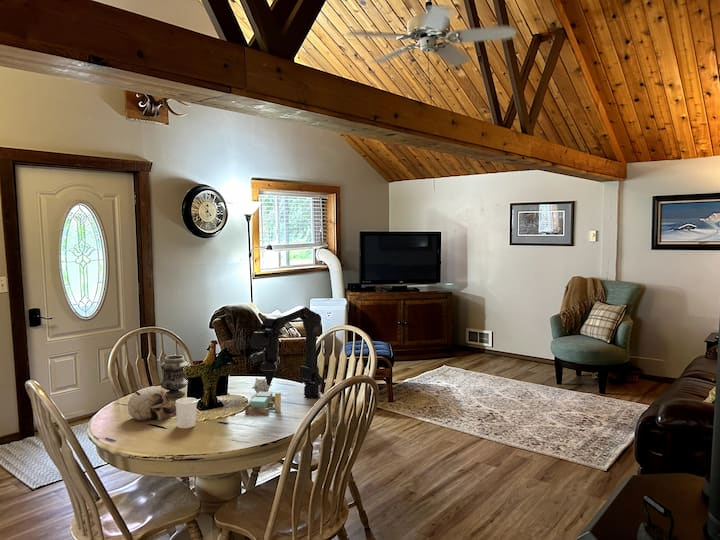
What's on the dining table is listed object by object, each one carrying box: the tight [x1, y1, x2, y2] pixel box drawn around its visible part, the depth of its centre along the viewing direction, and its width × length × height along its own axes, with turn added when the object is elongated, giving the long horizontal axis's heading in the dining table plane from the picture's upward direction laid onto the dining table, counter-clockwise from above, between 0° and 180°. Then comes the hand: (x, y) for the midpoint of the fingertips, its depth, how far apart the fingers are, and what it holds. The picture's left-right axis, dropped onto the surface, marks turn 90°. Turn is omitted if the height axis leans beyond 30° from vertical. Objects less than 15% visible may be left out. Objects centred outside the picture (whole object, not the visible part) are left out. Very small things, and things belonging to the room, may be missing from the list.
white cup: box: [175, 397, 198, 429], centre depth 201 cm, size 8×8×10 cm
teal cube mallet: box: [249, 391, 282, 413], centre depth 220 cm, size 12×6×8 cm, turn 86°
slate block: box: [256, 391, 273, 402], centre depth 228 cm, size 6×6×5 cm
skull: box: [127, 385, 176, 422], centre depth 209 cm, size 16×17×13 cm
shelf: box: [244, 392, 275, 416], centre depth 224 cm, size 10×18×4 cm, turn 176°
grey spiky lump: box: [251, 376, 273, 393], centre depth 242 cm, size 9×8×10 cm
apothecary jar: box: [160, 354, 189, 399], centre depth 238 cm, size 12×12×18 cm
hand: (269, 382), depth 219 cm, fingers open, 9 cm apart
